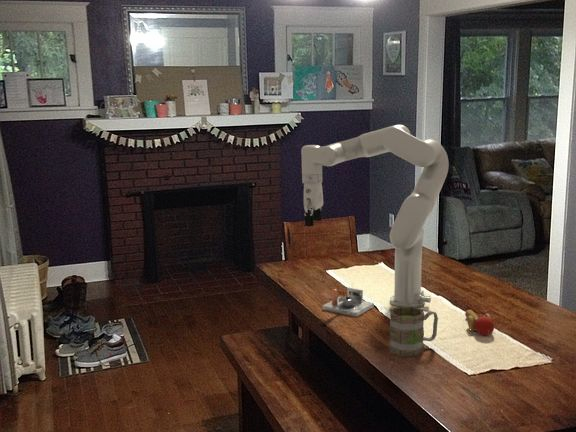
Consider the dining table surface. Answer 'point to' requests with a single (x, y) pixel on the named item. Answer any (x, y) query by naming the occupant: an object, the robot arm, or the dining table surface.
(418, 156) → the robot arm
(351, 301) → the crank
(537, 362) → the dining table surface
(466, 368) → the dining table surface
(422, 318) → the mug
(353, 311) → the stand
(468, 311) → the kendama
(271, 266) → the dining table surface
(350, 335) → the dining table surface
